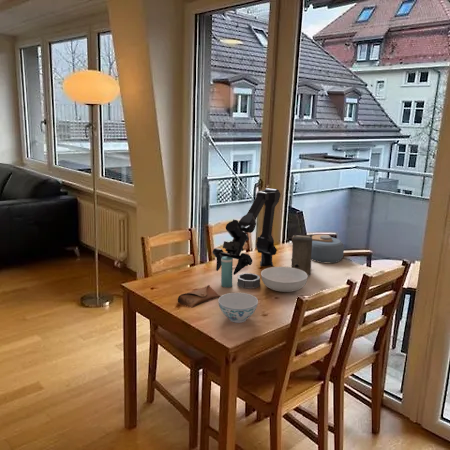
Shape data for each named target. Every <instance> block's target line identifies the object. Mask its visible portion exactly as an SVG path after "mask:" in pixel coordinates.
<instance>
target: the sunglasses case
mask: <svg viewBox="0 0 450 450" xmlns="http://www.w3.org/2000/svg"><path fill="white" fill-rule="evenodd" d="M221 296H222V295H219V294H218V293H217V292H216V291H215V289H214V288H212V287H211V286H210V285H209V284H208V285H207V286H204V287H200V288H198V289H194V290H191V291H189V292H186V293H181V294H180V295H179V296H178V298H177V302H178V304H180V303H181V304H180V305H182V306H185V305H186V306H185V307H187V306H188V308H190V307H191V308H194V307H196V306H199V305H201V304H203V303H206V302H209V301H212V300H215V299H217V298H218V299H219V298H220V297H221ZM191 308H190V309H191Z"/></svg>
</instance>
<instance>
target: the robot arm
mask: <svg viewBox="0 0 450 450" xmlns="http://www.w3.org/2000/svg"><path fill="white" fill-rule="evenodd" d="M280 198H281V192H280V190H279V189H276V188H268V187H266V188H265V189H263V190H260V191H257V193H256V196H255V199H254V200H253V202H252V204H251V206H250V207H249V209H248V212H247V213H246V214H244V215H243V216H241V218H240V220H238V219H235V218H233V219H232V221H229V222H228V223H227V224H226V225H225V230H226V232H227V233H228V234H229V235H230V237H231V238H233V239H232V241H231V240H230V241H225V240H223V244H222V248H218V247H214V248H213V250H212V252H211V253H212V254H213V255H214V257H215V259H216V264H215V265H216V266H215V267H216V269H215V271H216V272H218V271H219V270H221V269H220V268H221V258H222V257H226V256H227V257H232V258H233V260H237V264H236V265H235V268H234V270H233V272H232V275H233V276H235V275H236V274H238V273H239V272H240V271H242V269H244V268H245V267H249V266H252V264H253V259H252V256H251V255H250V254H249V253H243V251H245V249H244V245H245V244H246V242H247V241H249V234H251V233H254V231H255V229H256V226H257V218H258V216H259V214H260V212H261V210H262V209H263V206H264V214H263V221H262V230H261V234H260V235H259V236H257V238H256V249H257V253H259V254H261V255H260V257H261V258H260V261H259V265H260V267H274V263H273V256H276V254H277V251H278V249H277V248H276V246H275V245H274V243H275V240H274V238H273V235H272V234H273V233H272V232H273V226H274V225H273V224H274V217H275V209H276V206H277V205H278V204H279V202H280ZM247 233H249V234H247ZM223 249H224V250H225V251H224V250H223Z"/></svg>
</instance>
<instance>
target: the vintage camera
mask: <svg viewBox="0 0 450 450" xmlns="http://www.w3.org/2000/svg"><path fill="white" fill-rule="evenodd" d="M312 236H313V235H311V234H310V235H296V234H294V235H292V237H291V244H292V248H291V249H292V251H291V259H290V261H291V265H290V267H291V268H296V269H300V270H302V271H304V272H306V273H307V275H308V276H311V272H312V271H311V267H312V259H311V252H312Z"/></svg>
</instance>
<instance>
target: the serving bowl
mask: <svg viewBox="0 0 450 450" xmlns="http://www.w3.org/2000/svg"><path fill="white" fill-rule="evenodd" d="M291 267H292V266H270V267H267V268H264V269H262V270H261V272H260V279H261V281H262V282H263V284H264V285H265V286H266V287H267V288H269V289H270V290H273V291H276V292H281V293H282V292H284V293H289V292H295V291H298V290H301V289H302V288H303V287H304V286H305V285H306V284H307V281H308V276H309V275H307V273H306V272H304V271H302V270H300V269H296V268H291Z"/></svg>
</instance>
